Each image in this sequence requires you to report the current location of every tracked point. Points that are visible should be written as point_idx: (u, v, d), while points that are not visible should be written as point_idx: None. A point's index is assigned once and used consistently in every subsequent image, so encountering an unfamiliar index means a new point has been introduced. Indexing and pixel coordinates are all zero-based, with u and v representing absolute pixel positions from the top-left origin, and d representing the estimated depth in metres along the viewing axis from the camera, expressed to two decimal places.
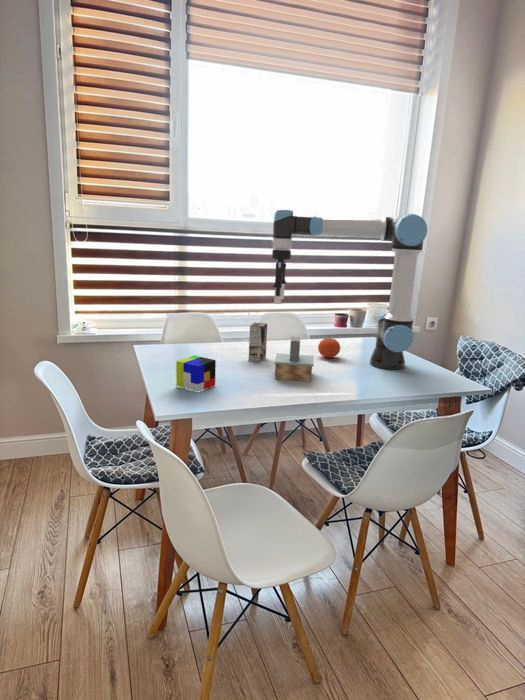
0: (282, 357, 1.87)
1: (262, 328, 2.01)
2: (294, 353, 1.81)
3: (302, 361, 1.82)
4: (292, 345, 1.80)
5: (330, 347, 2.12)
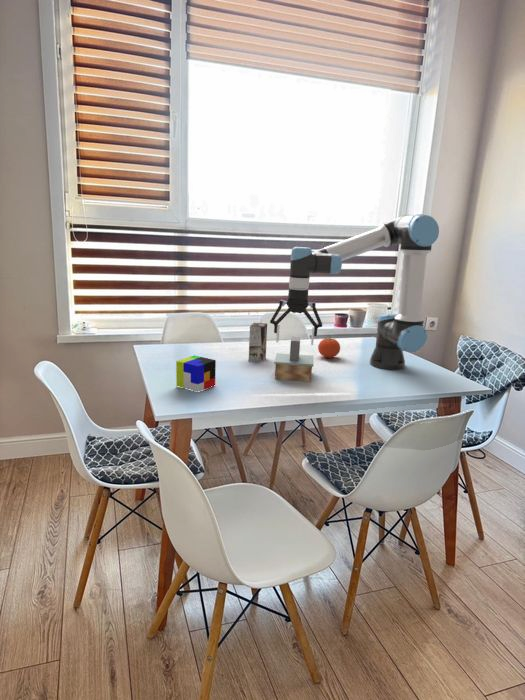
0: (282, 357, 1.87)
1: (262, 328, 2.01)
2: (294, 353, 1.81)
3: (302, 361, 1.82)
4: (292, 345, 1.80)
5: (330, 347, 2.12)
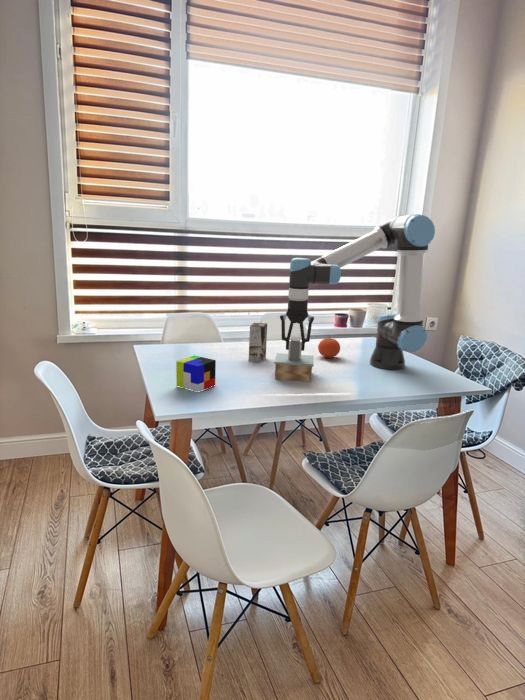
0: (282, 357, 1.87)
1: (262, 328, 2.01)
2: (294, 353, 1.81)
3: (302, 361, 1.82)
4: (292, 345, 1.80)
5: (330, 347, 2.12)
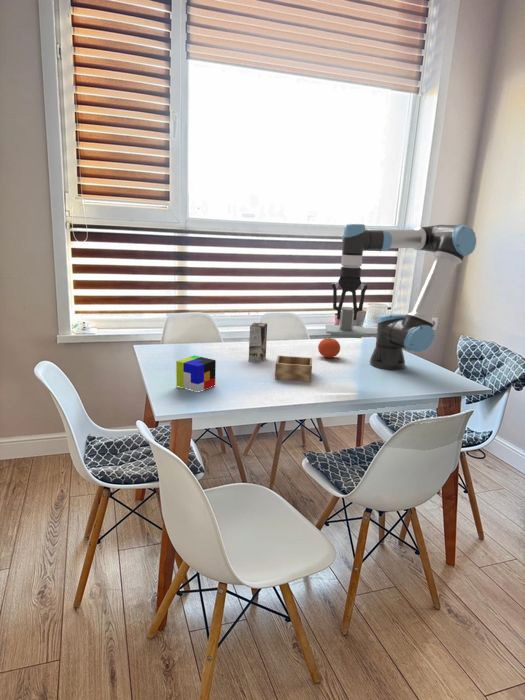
0: (333, 327, 1.82)
1: (262, 328, 2.01)
2: (346, 322, 1.76)
3: (355, 331, 1.77)
4: (345, 314, 1.75)
5: (330, 347, 2.12)
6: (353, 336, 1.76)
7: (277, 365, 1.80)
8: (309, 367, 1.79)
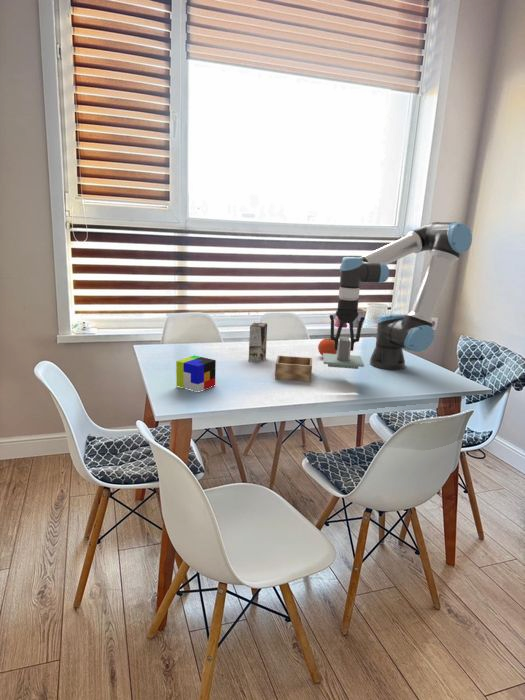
0: (330, 357, 1.85)
1: (262, 328, 2.01)
2: (343, 353, 1.79)
3: (351, 361, 1.80)
4: (342, 345, 1.78)
5: (330, 347, 2.12)
6: (350, 367, 1.79)
7: (277, 365, 1.80)
8: (309, 367, 1.79)
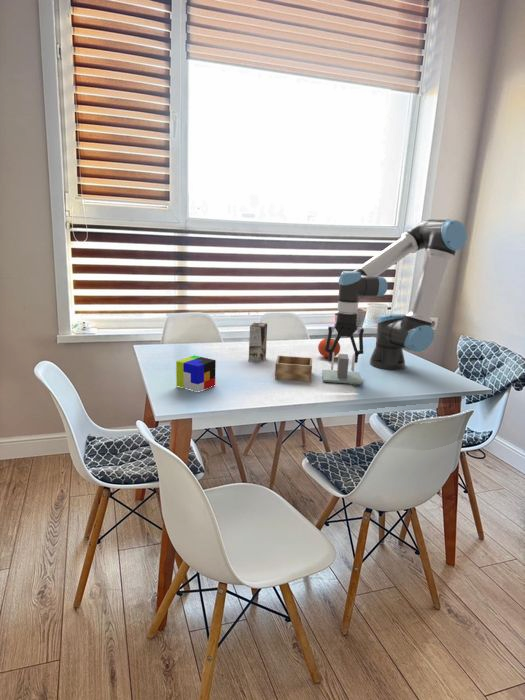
0: (329, 374, 1.87)
1: (262, 328, 2.01)
2: (342, 370, 1.81)
3: (350, 379, 1.81)
4: (341, 363, 1.80)
5: (330, 347, 2.12)
6: None
7: (277, 365, 1.80)
8: (309, 367, 1.79)
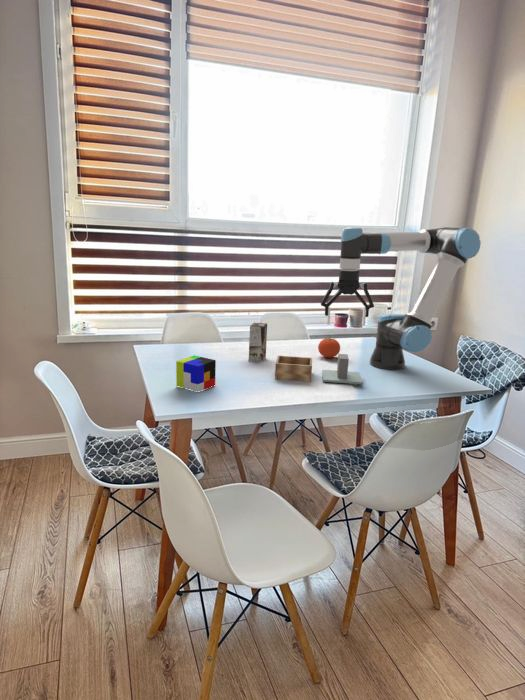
0: (329, 374, 1.87)
1: (262, 328, 2.01)
2: (342, 370, 1.81)
3: (350, 378, 1.81)
4: (341, 363, 1.80)
5: (330, 347, 2.12)
6: None
7: (277, 365, 1.80)
8: (309, 367, 1.79)
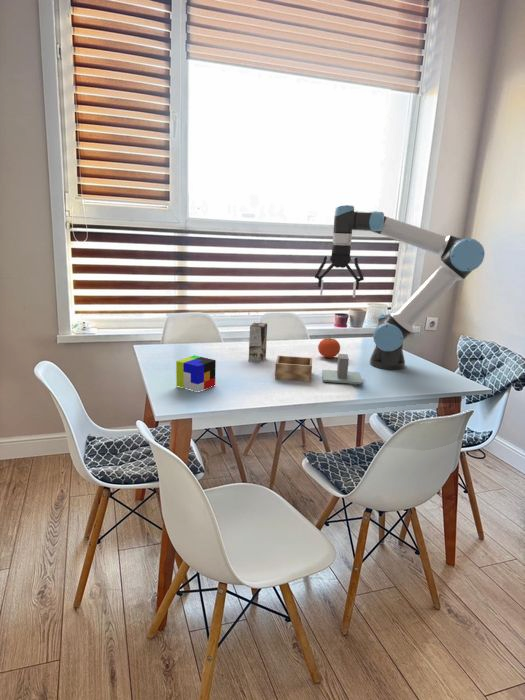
0: (329, 374, 1.87)
1: (262, 328, 2.01)
2: (342, 370, 1.81)
3: (350, 378, 1.81)
4: (341, 363, 1.80)
5: (330, 347, 2.12)
6: None
7: (277, 365, 1.80)
8: (309, 367, 1.79)
